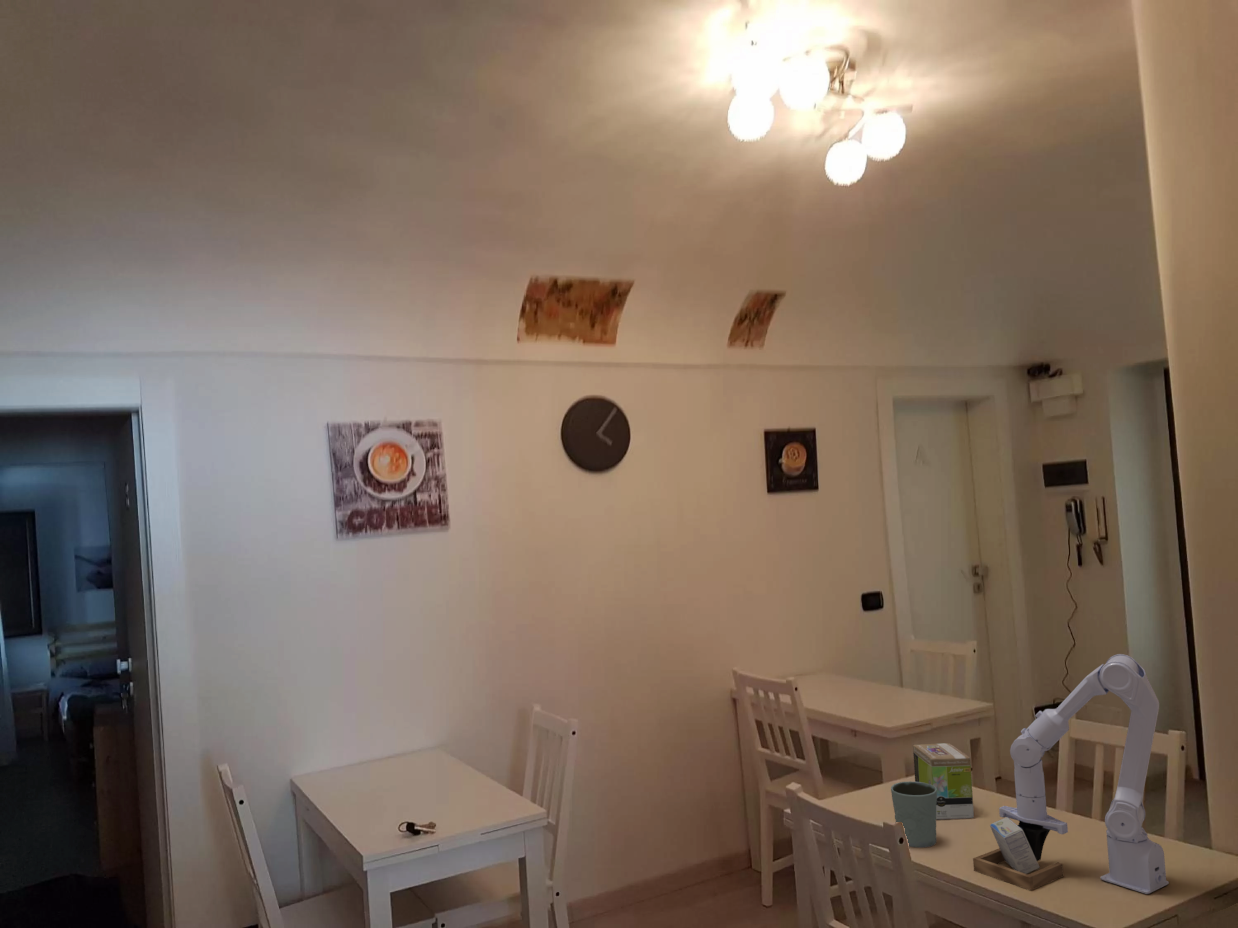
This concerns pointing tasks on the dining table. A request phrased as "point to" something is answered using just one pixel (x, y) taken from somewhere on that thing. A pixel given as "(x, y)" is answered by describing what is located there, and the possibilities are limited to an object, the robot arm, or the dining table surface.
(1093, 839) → the dining table surface
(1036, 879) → the holder
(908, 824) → the teal cup
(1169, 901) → the dining table surface
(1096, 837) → the dining table surface
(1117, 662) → the robot arm
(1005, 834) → the medicine box
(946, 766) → the tea box
